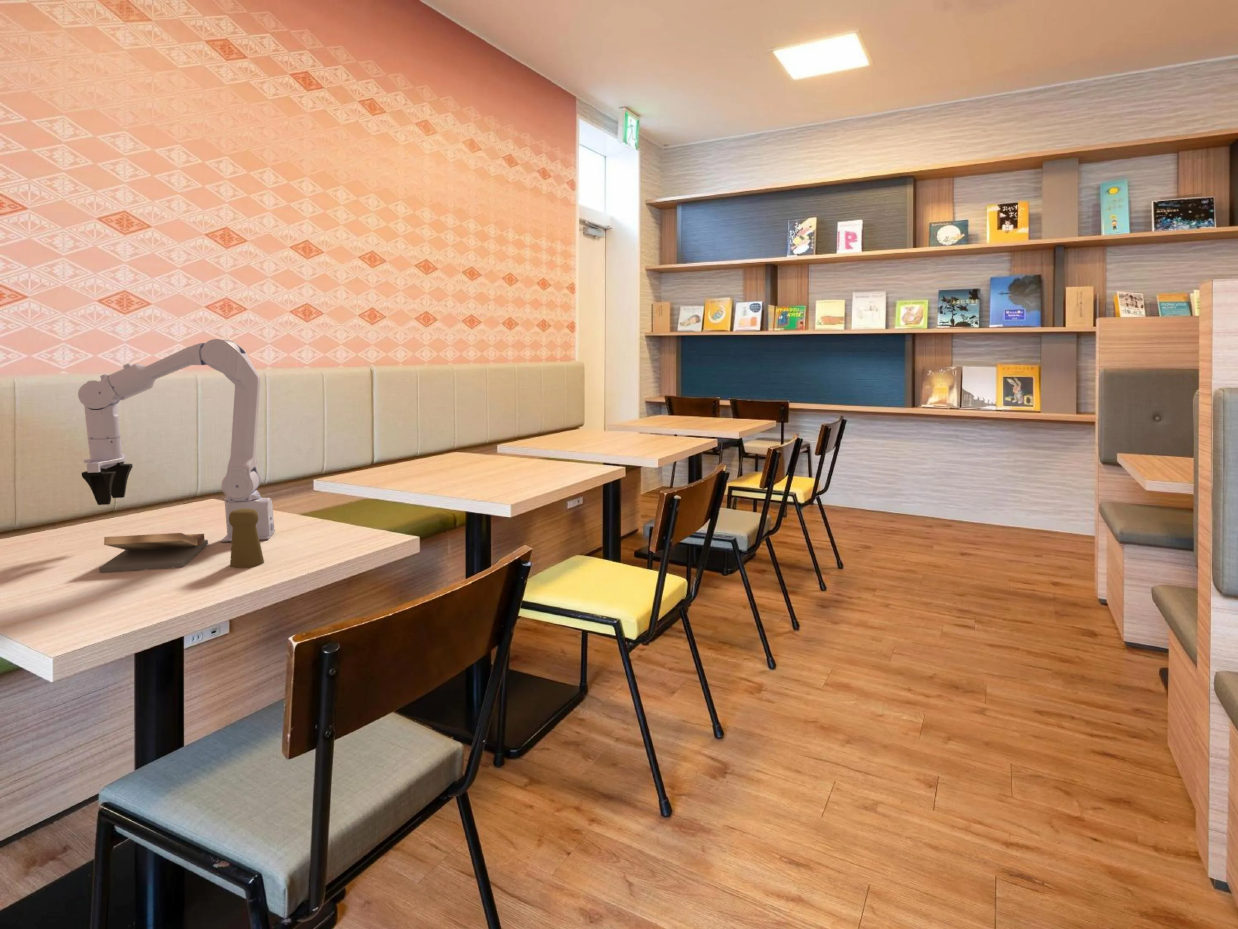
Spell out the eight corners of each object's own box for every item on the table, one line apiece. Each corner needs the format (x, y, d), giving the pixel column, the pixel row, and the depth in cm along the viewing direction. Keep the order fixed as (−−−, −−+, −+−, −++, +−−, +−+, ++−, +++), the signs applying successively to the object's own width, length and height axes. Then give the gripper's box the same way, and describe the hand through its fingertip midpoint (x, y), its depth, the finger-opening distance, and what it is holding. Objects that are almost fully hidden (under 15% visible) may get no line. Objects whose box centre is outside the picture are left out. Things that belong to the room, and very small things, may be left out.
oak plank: (197, 545, 152) (197, 538, 152) (180, 540, 141) (180, 532, 142) (126, 550, 148) (126, 542, 149) (103, 544, 138) (104, 537, 138)
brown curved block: (204, 540, 157) (204, 533, 157) (198, 545, 153) (198, 538, 152) (136, 544, 153) (135, 537, 153) (128, 549, 149) (127, 542, 149)
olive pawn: (240, 559, 146) (236, 505, 144) (270, 559, 146) (266, 506, 144) (223, 568, 140) (218, 512, 138) (254, 568, 140) (250, 512, 138)
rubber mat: (208, 544, 158) (207, 539, 157) (182, 567, 140) (182, 562, 140) (134, 548, 154) (134, 543, 154) (99, 572, 137) (98, 567, 137)
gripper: (97, 434, 159) (104, 495, 161) (66, 442, 145) (74, 508, 147) (133, 433, 161) (140, 494, 163) (106, 441, 147) (114, 506, 149)
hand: (111, 501), depth 155 cm, fingers open, 7 cm apart
